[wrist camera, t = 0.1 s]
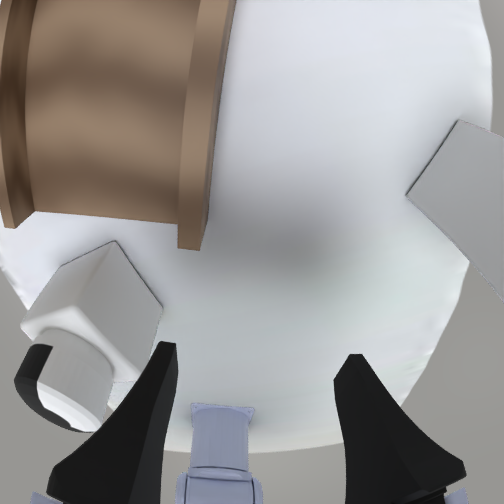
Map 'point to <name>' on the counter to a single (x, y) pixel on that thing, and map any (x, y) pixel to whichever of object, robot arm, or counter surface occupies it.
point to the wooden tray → (111, 108)
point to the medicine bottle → (86, 338)
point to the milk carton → (468, 197)
